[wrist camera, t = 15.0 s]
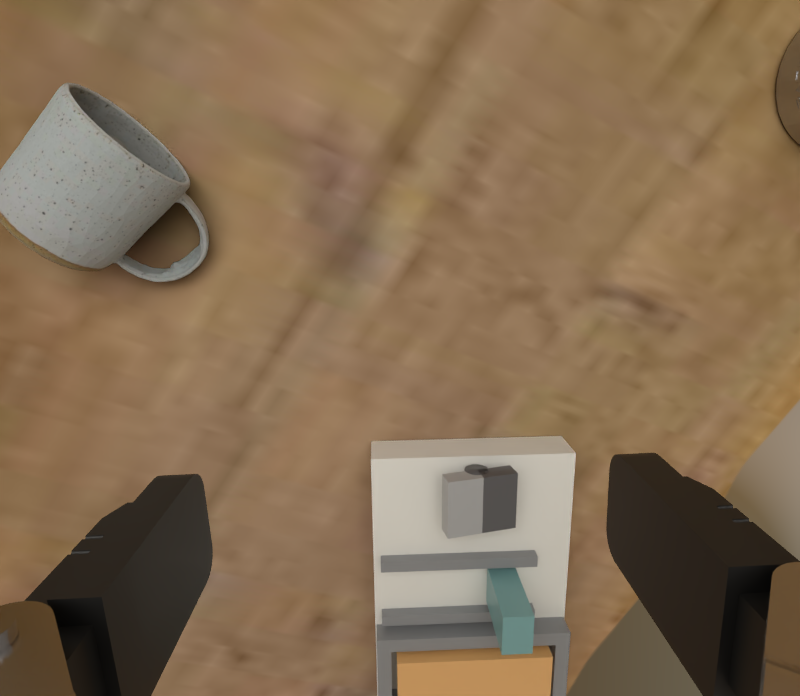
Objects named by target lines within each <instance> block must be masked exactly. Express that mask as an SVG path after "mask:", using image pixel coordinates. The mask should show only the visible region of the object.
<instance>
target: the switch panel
mask: <svg viewBox="0 0 800 696" xmlns="http://www.w3.org/2000/svg"><path fill="white" fill-rule="evenodd" d="M575 458H576V453H575V452H574V450H573V449H572V448H571V447H570V446H569V444H568V443H567V442H566V441H565V440H564V438H563V437H562V436H538V437H503V438H468V439H433V440H397V441H371V480H372V517H373V553H374V590H375V627H376V663H377V696H397V654H396V652H408V651H431V650H455V649H478V648H499V644H498V641H497V637H496V633H495V630H494V626H493V623H492V619H491V616H490V612H489V609H488V605H487V602H486V593H487V569H492V568H516V570H517V573H518V575H519V578H520V580H521V583H522V585H523V588H524V591H525V593H526V596H527V598H528V601H529V603H530V606H531V608H532V611H533V613H534V616H535V619H534V637H533V646H549V649H550V651H551V654H552V656H553V663H552V678H551V693H550V696H566V688H567V674H568V660H569V647H570V630H569V628H568V626H567V624H566V622H565V620H564V615H565V601H566V587H567V572H568V558H569V544H570V530H571V515H572V501H573V487H574V473H575ZM472 464H479V465H483V466H486V467H487V468H493V467H500V466H508V465H510V466H511V467H512V468H513V469H514V470H515V471H516V472H517V473H518V484H517V507H516V528H511V529H505V530H499V531H493V532H487V533H481V534H474V535H468V536H462V537H456V538H450V539H448V538H447V537H446V535H445V533H444V532H443V530H442V474H448V473H455V472H463V471H464V469H465V467H466V466H468V465H472Z"/></svg>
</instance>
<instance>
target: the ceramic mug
mask: <svg viewBox="0 0 800 696" xmlns="http://www.w3.org/2000/svg"><path fill="white" fill-rule="evenodd" d="M189 187H190V179H189V177H188V175H187V173H186V171H185V170H184V168H183V167H182V165H181V164H180V162H179V161H178V160H177V159H176V158H175V157H174V156H173V155H172V154H171V153H170V152H169V151H168V149H167V148H166V147H165V146H164V145H163V144H162V143H161V142H160V141H159V140H158V139H157V138H156V137H155V136H154V135H152V134H151V133H150V132H149V131H148V130H147V129H146V128H145V127H143V126H142V125H141V124H140V123H139V122H138V121H136V120H135V119H134V118H132V117H131V116H130V115H129V114H127V113H126V112H125V111H124V110H122V109H121V108H119V107H118V106H117V105H115V104H114V103H113V102H111V101H110V100H108V99H106V98H104V97H102V96H101V95H99V94H98V93H96V92H94V91H92V90H90V89H88V88H85V87H83V86H81V85H79V84H74V83H65V84H63V85H62V86H61V87H60V88H59V89H58V90H57V92H56V93H55V95H54V96H53V97H52V99H51V100H50V102H49V103H48V105H47V107H46V108H45V109H44V110H43V112H42V113H41V115H40V116H39V117H38V119H37V120H36V122H35V123H34V125H33V126H32V127H31V129H30V130H29V131H28V133H27V134H26V136H25V137H24V139H23V140H22V142H21V143H20V145H19V146H18V147H17V149H16V150H15V151H14V153H13V154H12V155H11V157H10V158H9V159H8V161H7V162H6V163H5V165H4V166H3V167H2V169H1V171H0V222H1V223H2V224H3V226H4V227H5V228H6V229H7V230H8V231H9V232H10V233H11V234H12V235H13V236H14V237H15V238H17V239H18V240H19V241H20V242H22V243H23V244H24V245H25V246H27V247H28V248H30V249H31V250H33V251H35V252H36V253H38V254H39V255H41V256H43V257H44V258H46V259H48V260H50V261H52V262H54V263H57V264H59V265H61V266H64V267H67V268H71V269H75V270H80V271H98V270H102V269H104V268H106V267H108V266H109V265H111V264H112V263H116V264H118V265H119V266H120V267H121V268H123V269H125V270H126V271H128V272H129V273H131V274H133V275H135V276H137V277H139V278H142V279H146V280H149V281H154V282H167V281H173V280H178V279H180V278H182V277H185V276H187V275H188V274H190V273H191V272H192V271H194V270H195V269H196V268H197V267H198V266H199V265H200V264H201V263H202V261H203V260H204V259H205V257H206V255H207V252H208V247H209V235H208V228H207V224H206V221H205V219H204V217H203V215H202V213H201V211H200V210H199V208H198V207H197V206H196V204H195V203H194V202H193V200H192V199H191V198H190V197H189V196H188V195H187V194H186V193H185V192H186V191H187V189H188V188H189ZM175 202H177V203H180V204H182V205H183V206H184V207H185V208H186V209H187V210H188V211H189V213H190V215H191V216H192V218H193V219H194V221H195V222H196V224H197V226H198V229H199V232H200V239H201V240H200V244H199V245H198V246H197V247H196V248H195V249H194V250H193V251H191V252H190V253H189V254H188V255H187V256H186V257H184V258H183V259H181V260H180V261H177V262H174V263H173V264H172V265H171V268H167V269H162V268H152V267H149V266H147V265H144V264H141V263H139V262H138V261H136V260H134V259H132V258H130V257H129V256H127V255H126V254H125V253H126V252H127V251H128V250H129V249H130V248H131V247H132V246H133V245H134V244H135V243H136V241H137V240H138V239H139V238H140V237H141V236H142V235H143V234H144V233H145V232H146V231H147V230H148V229H149V228H150V227H151V226H152V225H153V224H154V223H155V222H156V221H157V220H158V219H159V218H160V217H161V216H162V215H163V214H164V213H165V212H166V211H167V210H168V209H170V207H171V206H172V205H173V204H174V203H175Z"/></svg>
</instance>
